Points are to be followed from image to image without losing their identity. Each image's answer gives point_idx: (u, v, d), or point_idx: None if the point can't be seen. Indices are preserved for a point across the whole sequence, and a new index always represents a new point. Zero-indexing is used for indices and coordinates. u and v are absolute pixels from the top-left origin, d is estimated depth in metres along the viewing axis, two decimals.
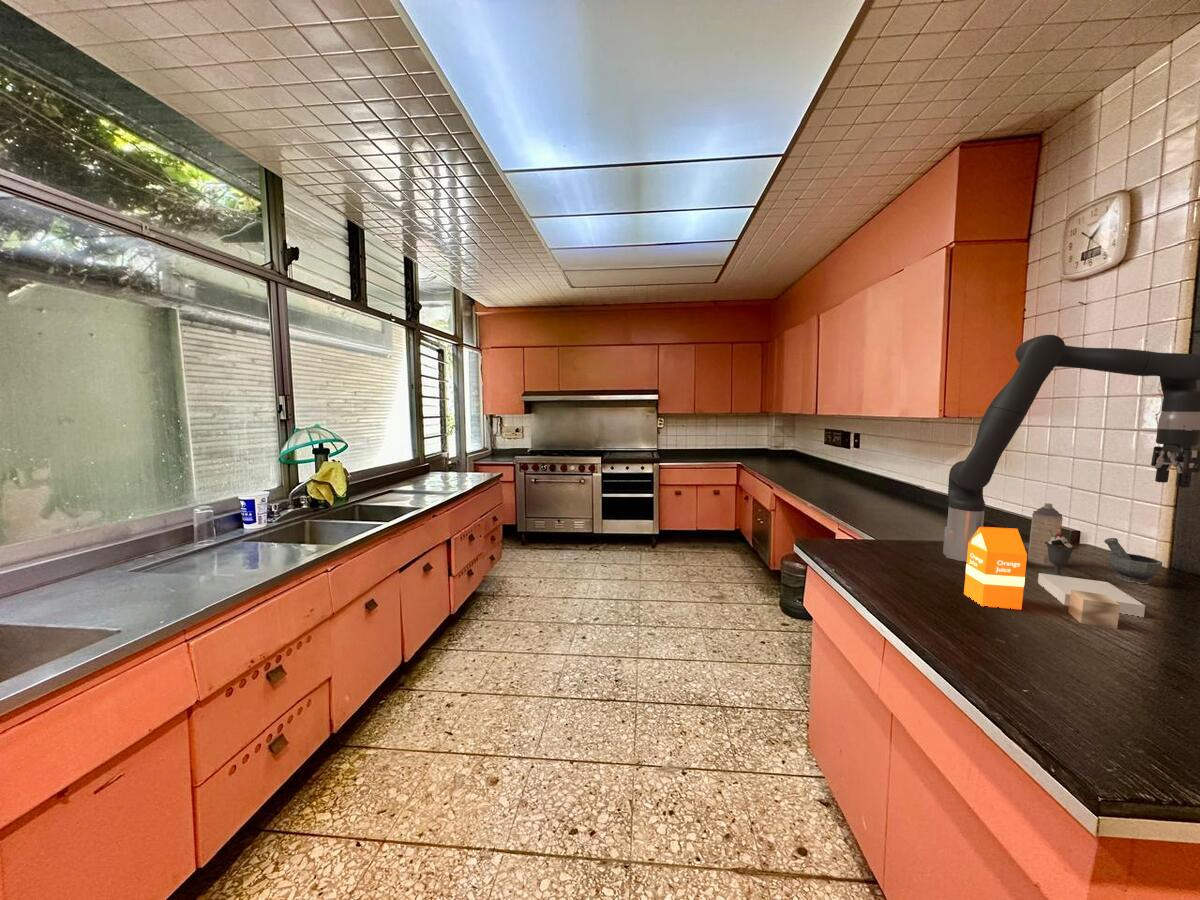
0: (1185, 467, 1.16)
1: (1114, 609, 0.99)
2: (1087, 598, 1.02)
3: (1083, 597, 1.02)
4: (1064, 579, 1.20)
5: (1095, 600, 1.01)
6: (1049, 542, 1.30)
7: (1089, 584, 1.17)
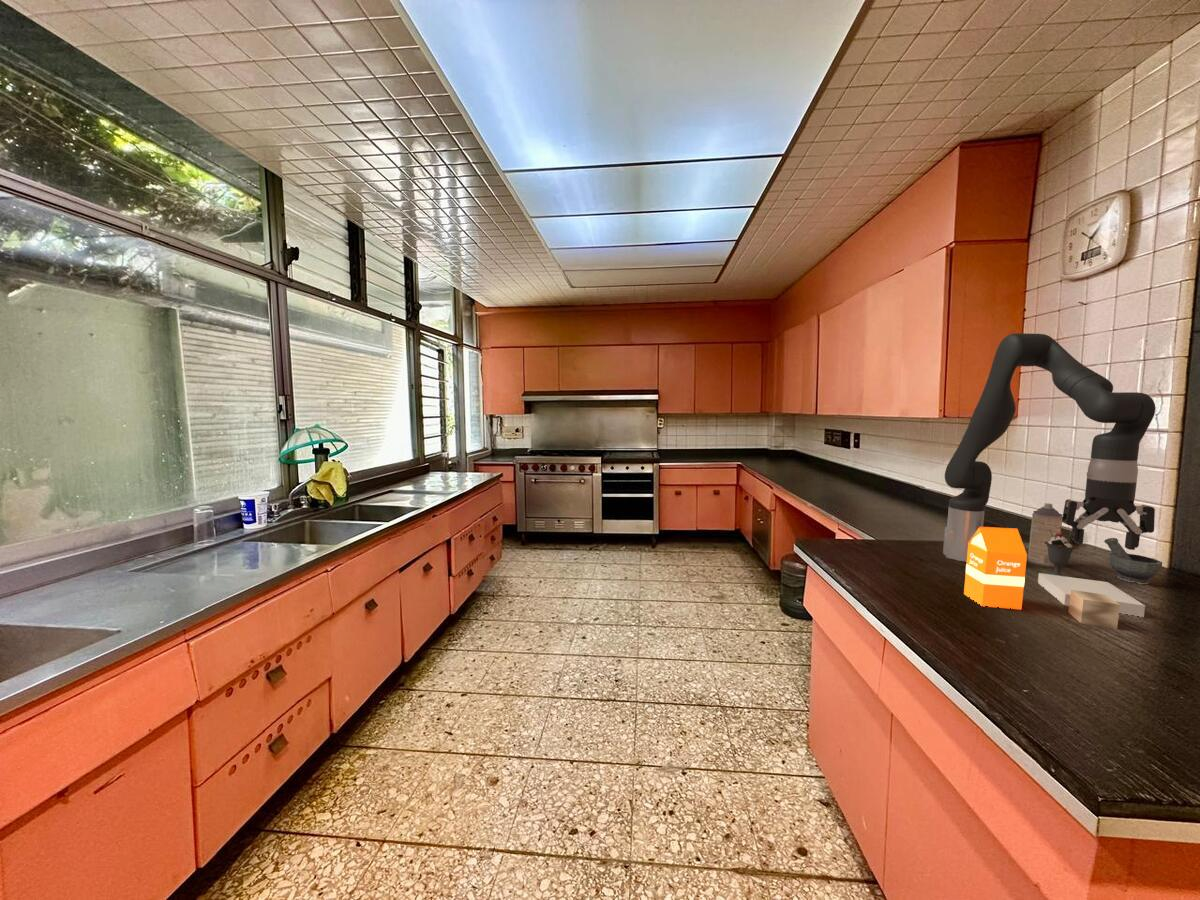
0: (1151, 527, 0.97)
1: (1114, 609, 0.99)
2: (1087, 598, 1.02)
3: (1083, 597, 1.02)
4: (1064, 579, 1.20)
5: (1095, 600, 1.01)
6: (1049, 542, 1.30)
7: (1089, 584, 1.17)
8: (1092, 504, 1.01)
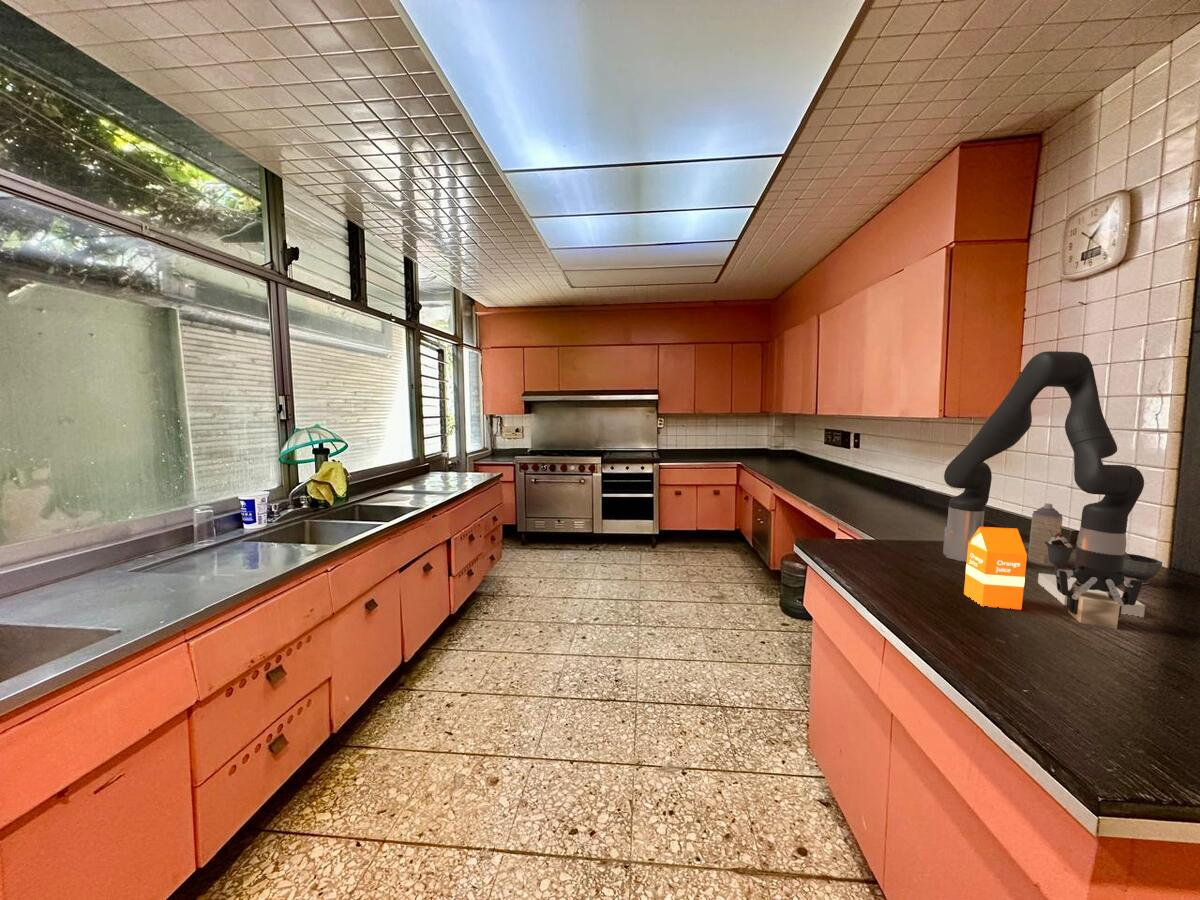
0: (1133, 600, 0.99)
1: (1114, 609, 0.99)
2: (1087, 598, 1.02)
3: (1083, 597, 1.02)
4: None
5: (1095, 600, 1.01)
6: (1049, 542, 1.30)
7: None
8: (1081, 572, 1.03)
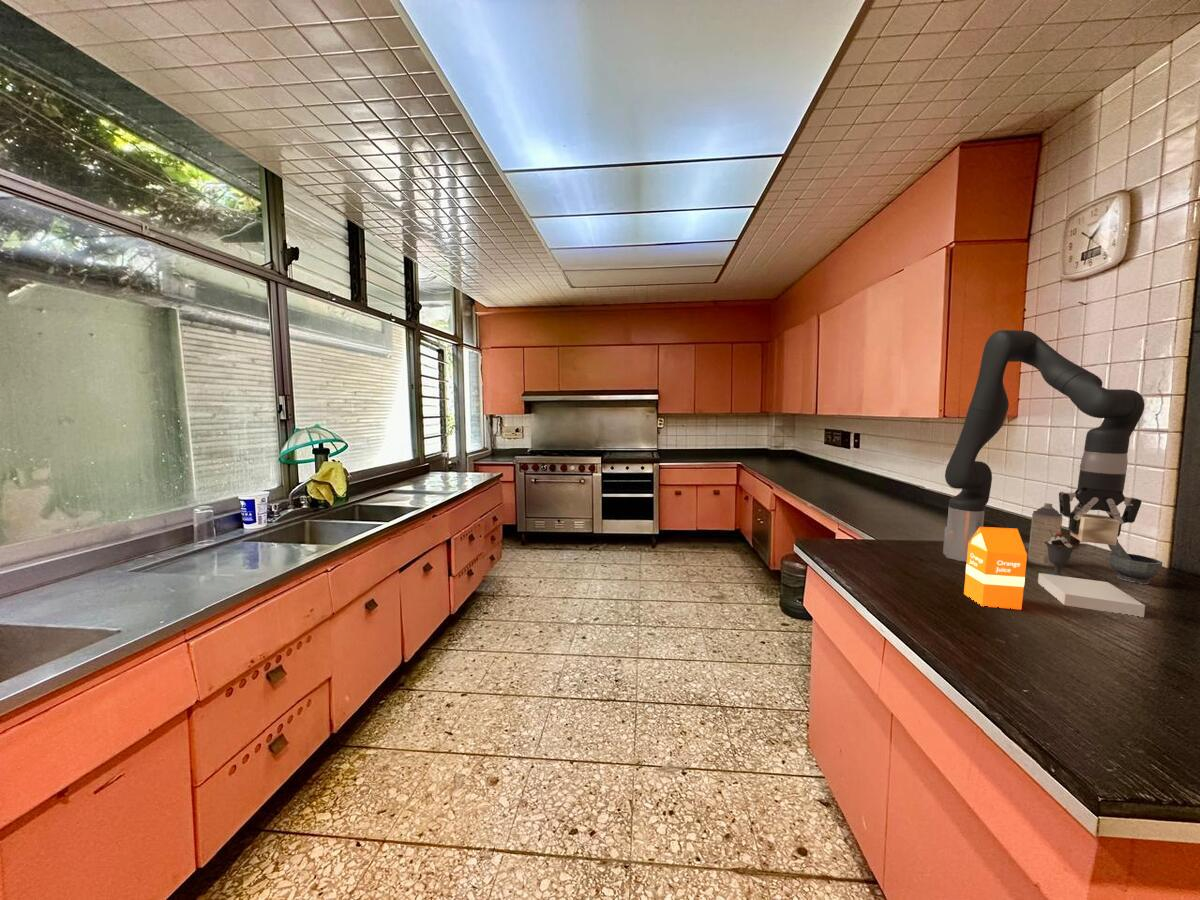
0: (1133, 518, 1.04)
1: (1114, 526, 1.05)
2: (1088, 517, 1.07)
3: (1084, 517, 1.08)
4: (1064, 579, 1.20)
5: (1096, 519, 1.06)
6: (1049, 542, 1.30)
7: (1089, 584, 1.17)
8: (1083, 494, 1.08)
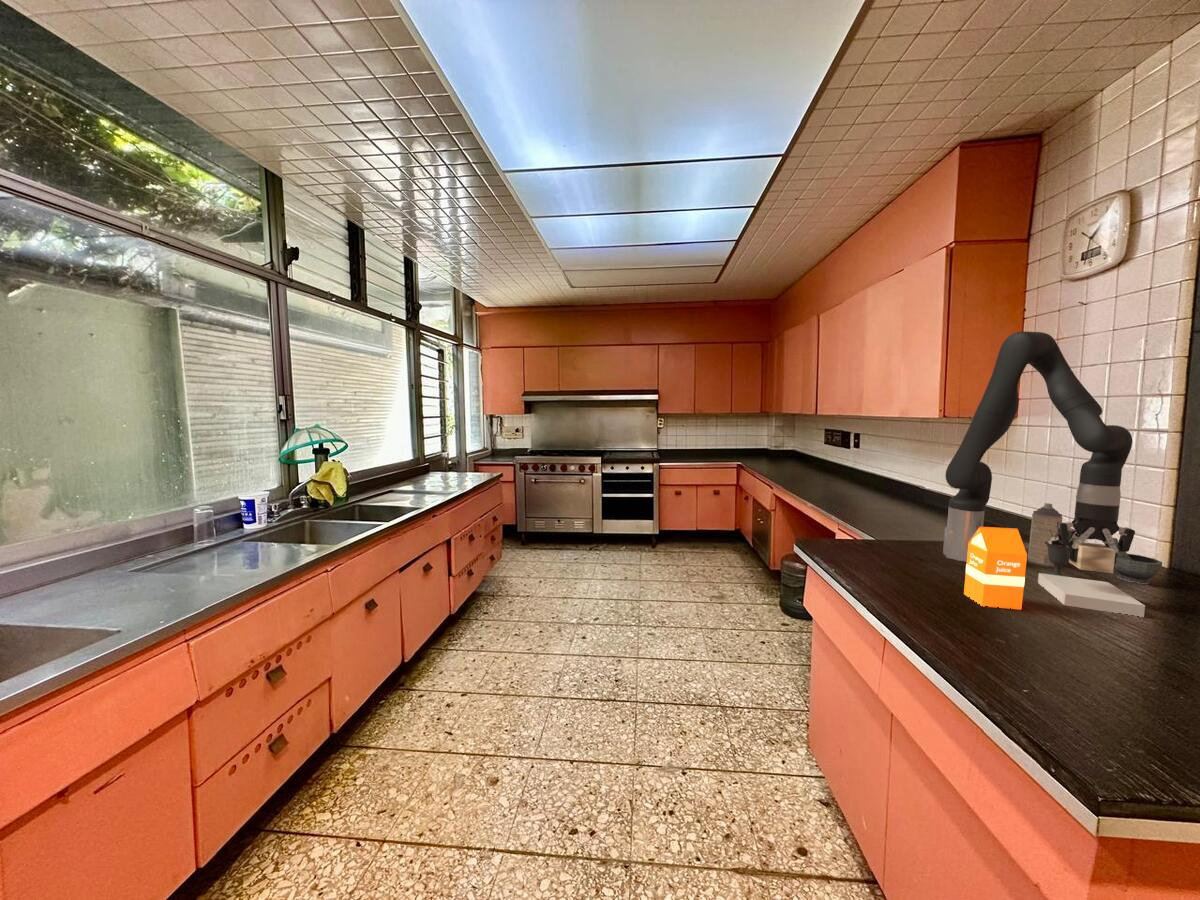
0: (1127, 547, 1.10)
1: (1110, 555, 1.10)
2: (1085, 546, 1.13)
3: (1082, 546, 1.13)
4: (1064, 579, 1.20)
5: (1093, 548, 1.12)
6: (1049, 542, 1.30)
7: (1089, 584, 1.17)
8: (1080, 524, 1.14)
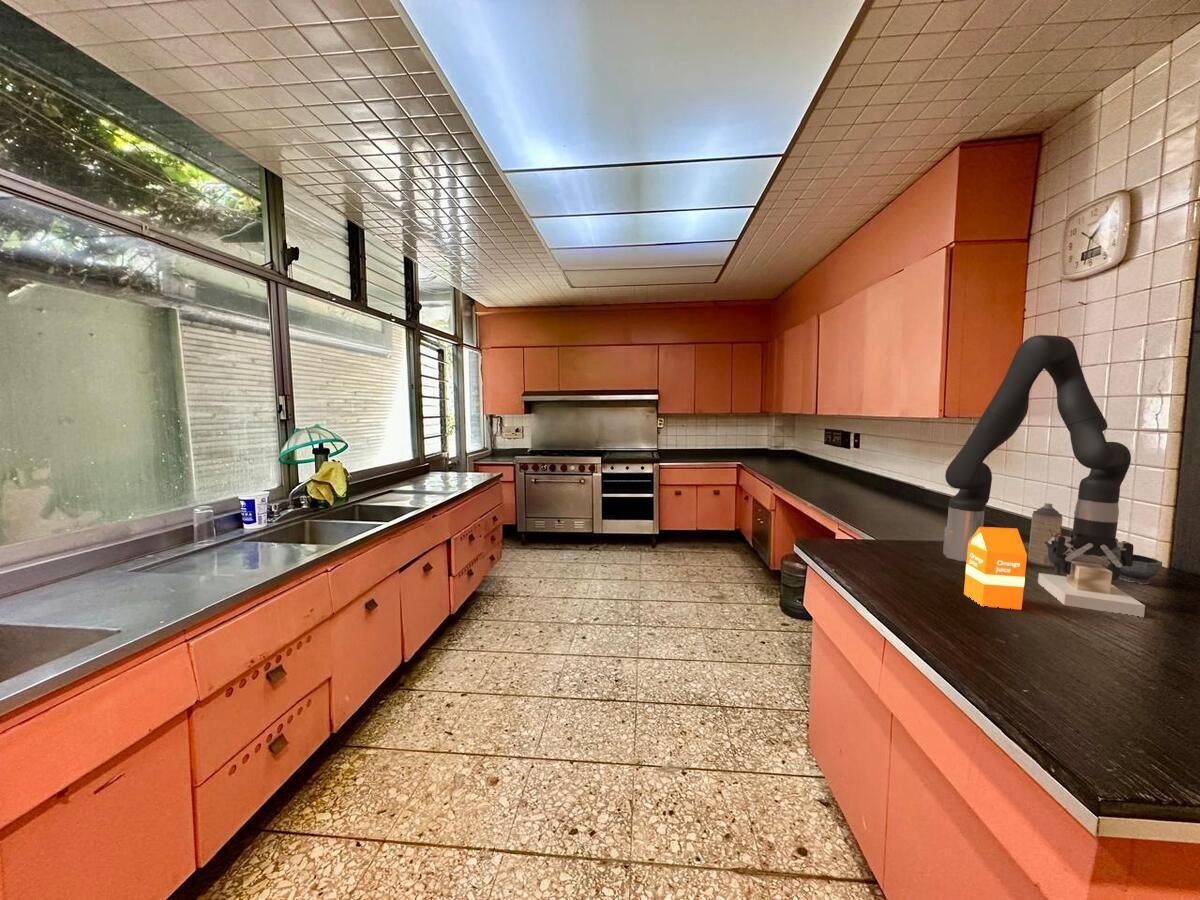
0: (1130, 561, 1.10)
1: (1107, 576, 1.11)
2: (1083, 567, 1.13)
3: (1079, 566, 1.14)
4: (1064, 579, 1.20)
5: (1090, 569, 1.12)
6: (1049, 542, 1.30)
7: None
8: (1078, 540, 1.14)
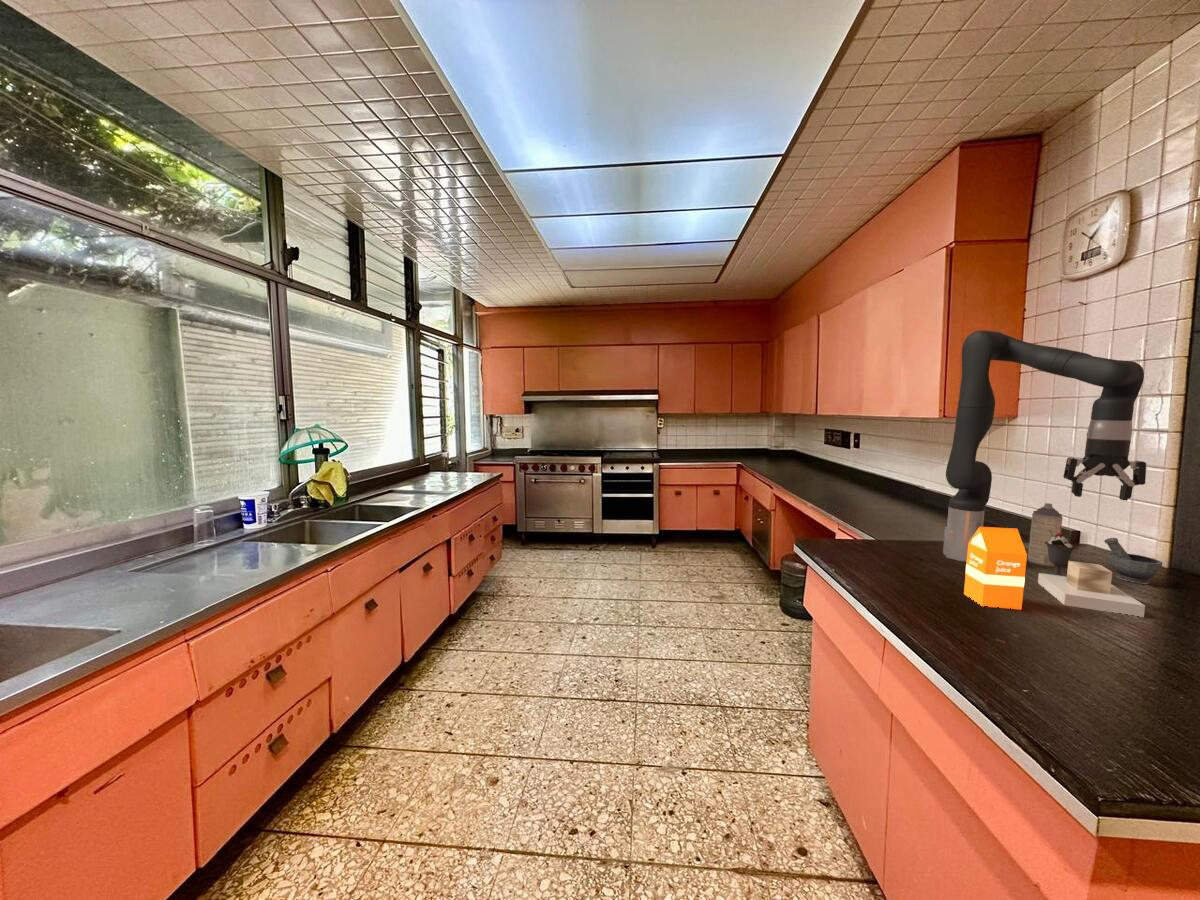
0: (1143, 479, 1.10)
1: (1107, 576, 1.11)
2: (1083, 567, 1.13)
3: (1079, 566, 1.14)
4: (1064, 579, 1.20)
5: (1090, 569, 1.12)
6: (1049, 542, 1.30)
7: None
8: (1091, 460, 1.14)
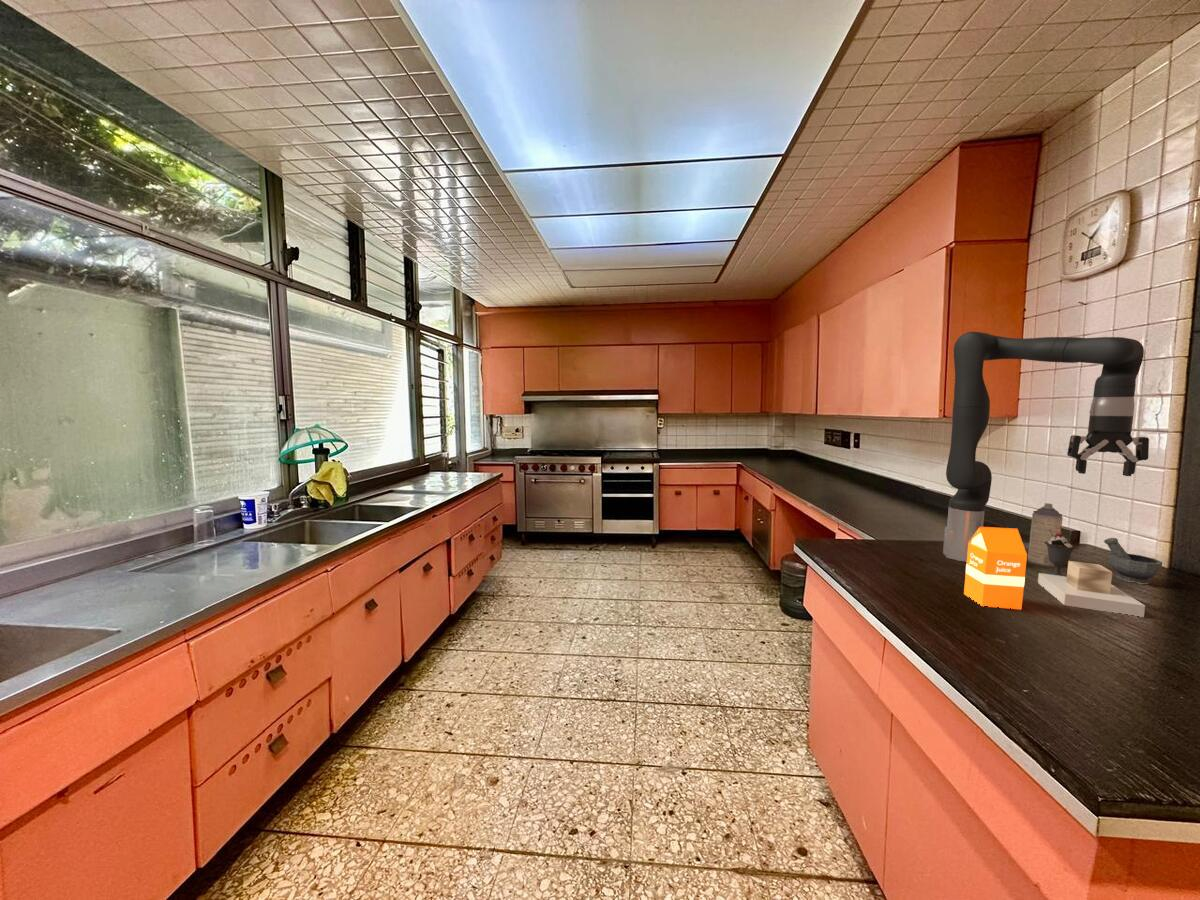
0: (1146, 455, 1.11)
1: (1107, 576, 1.11)
2: (1083, 567, 1.13)
3: (1079, 566, 1.14)
4: (1064, 579, 1.20)
5: (1090, 569, 1.12)
6: (1049, 542, 1.30)
7: None
8: (1094, 437, 1.15)
